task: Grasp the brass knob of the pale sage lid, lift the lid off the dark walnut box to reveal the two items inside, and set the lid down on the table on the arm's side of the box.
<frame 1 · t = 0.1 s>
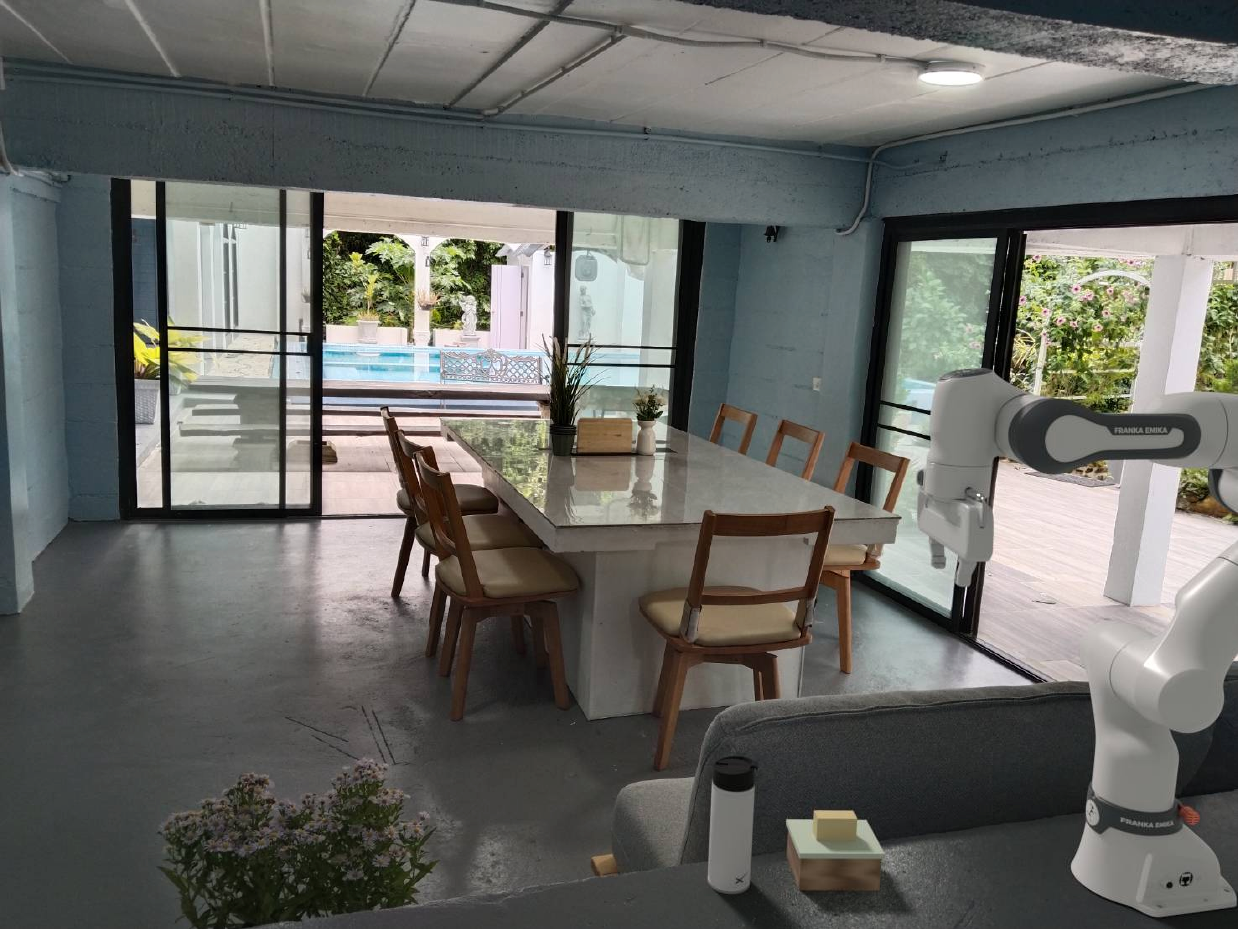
hand: (949, 576, 141), 48 cm above the table, fingers open, 8 cm apart
lid: (833, 841, 148), point 6 cm above the table, touching walnut box
cream ball: (849, 869, 150), point 1 cm above the table, touching walnut box
slate cube: (813, 876, 147), point 1 cm above the table, touching walnut box
walnut box: (831, 877, 149), on the table
travel mug: (729, 887, 146), on the table
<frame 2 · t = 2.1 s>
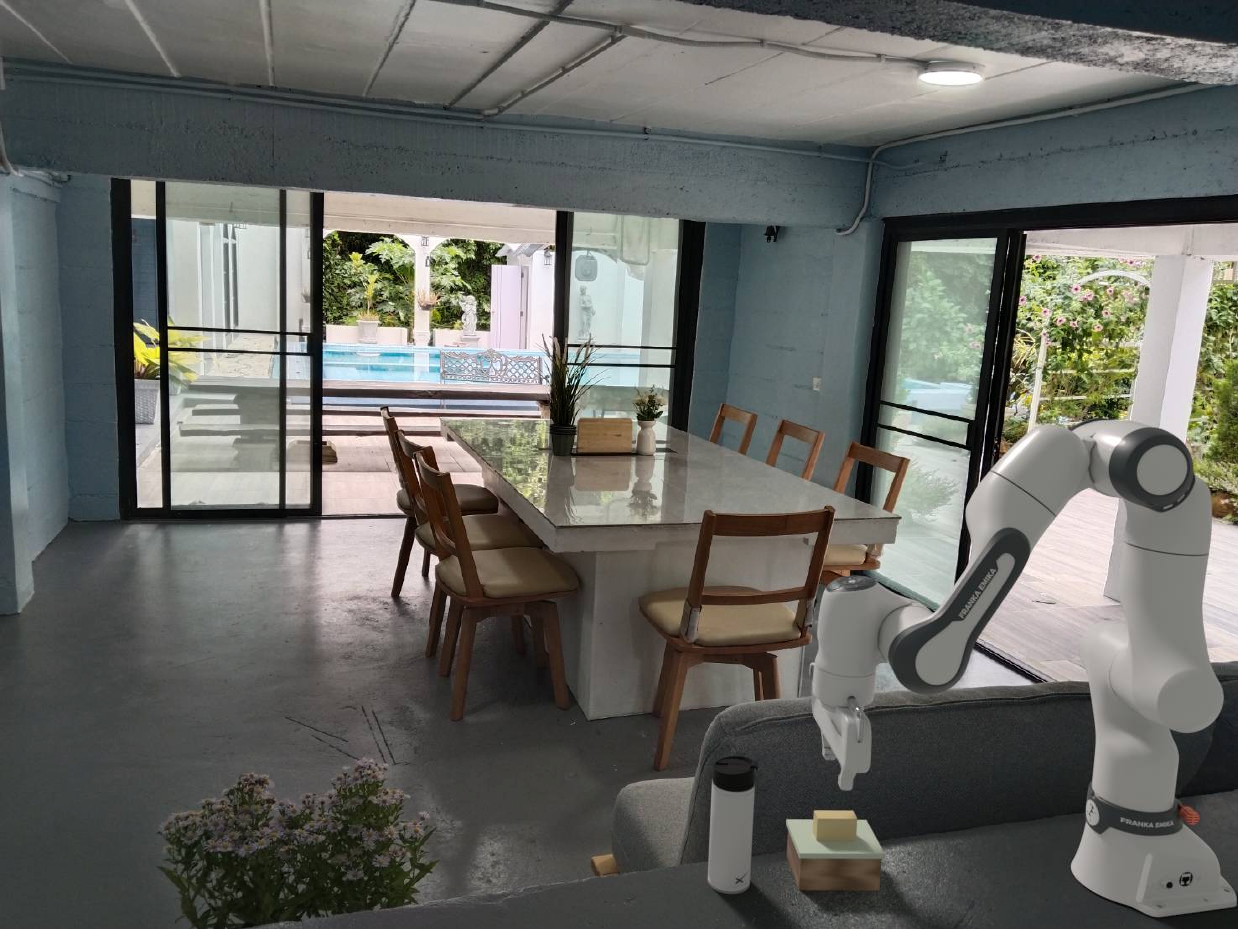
hand: (836, 772, 146), 17 cm above the table, fingers open, 8 cm apart
nothing on the table moved.
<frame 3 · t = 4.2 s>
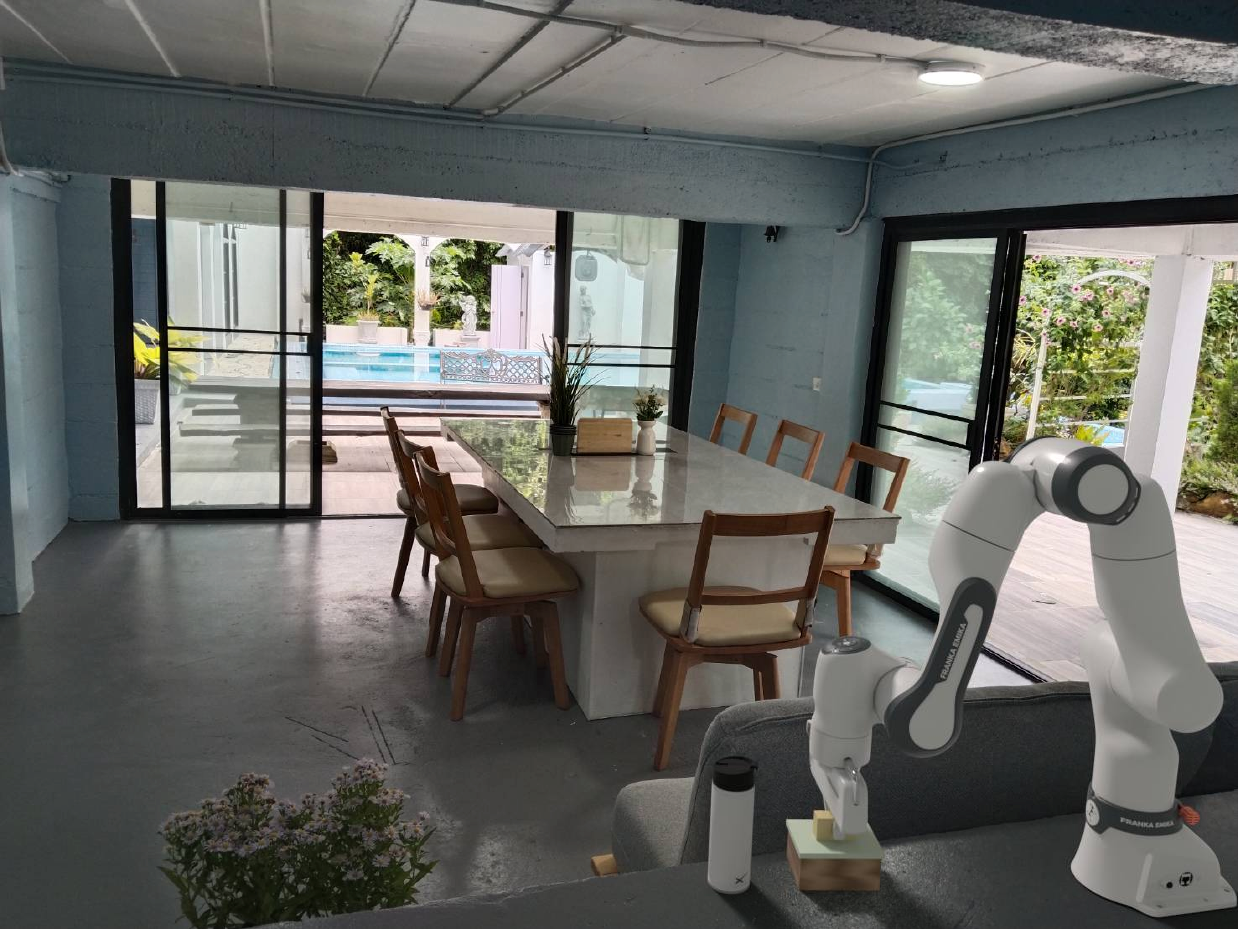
hand: (834, 830, 147), 8 cm above the table, fingers closed on lid, 2 cm apart
lid: (833, 841, 148), point 6 cm above the table, touching gripper, walnut box
everything else where it was.
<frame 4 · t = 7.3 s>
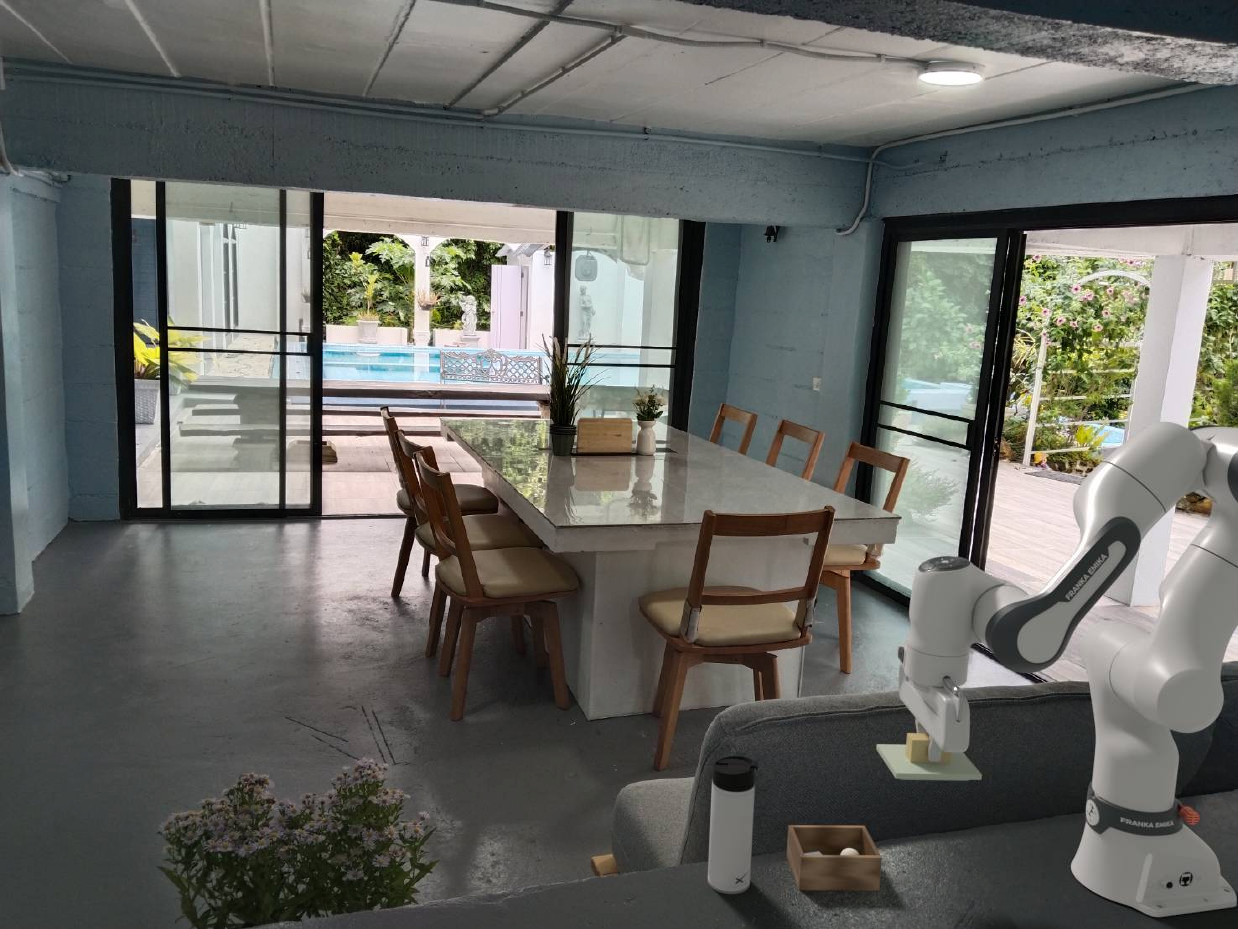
hand: (928, 753, 146), 20 cm above the table, fingers closed on lid, 2 cm apart
lid: (927, 764, 146), point 19 cm above the table, touching gripper
everything else where it was.
when the fingers open (4 cm above the table, at t = 10.6 s): lid drops 2 cm, on the table.
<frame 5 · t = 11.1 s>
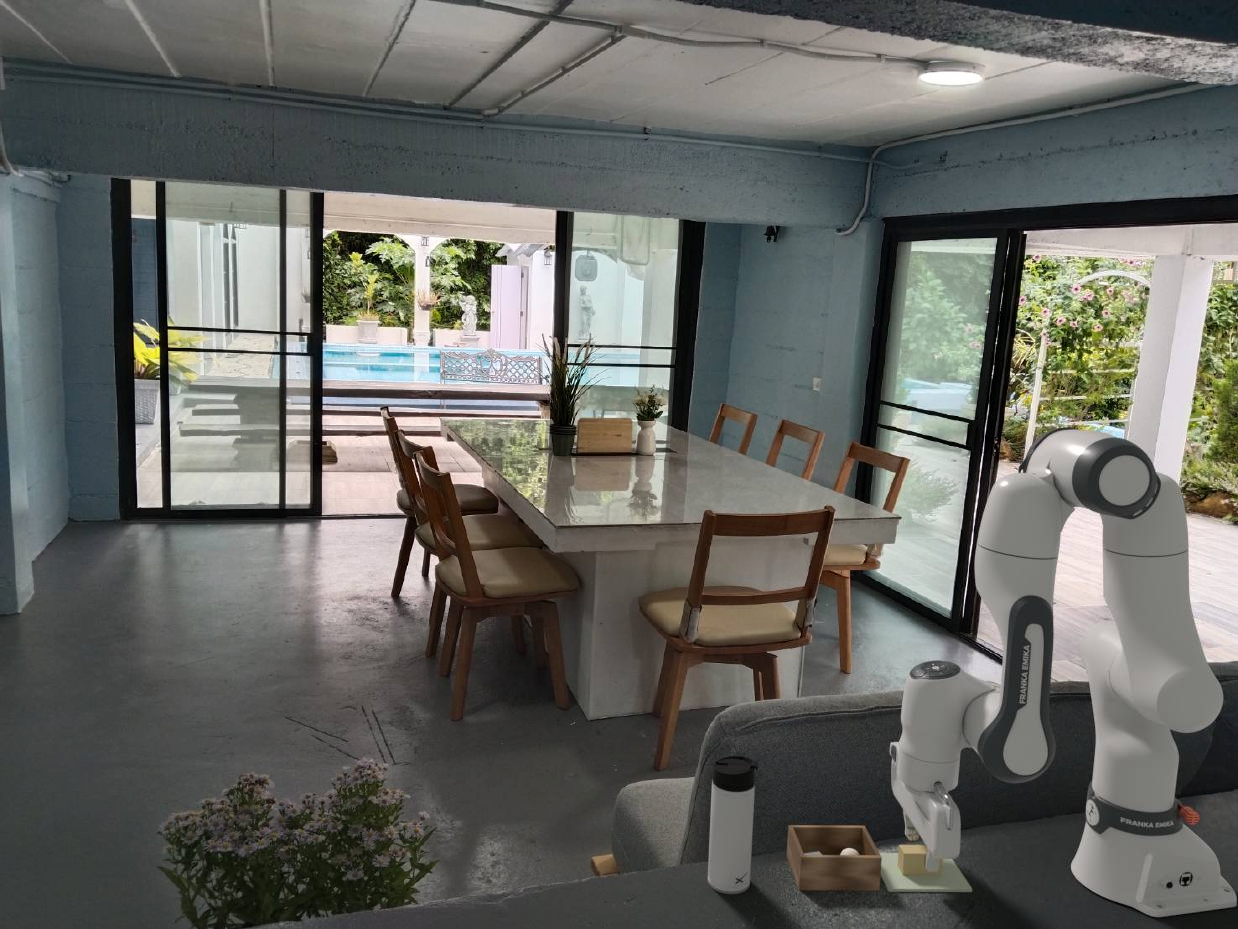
hand: (920, 853, 148), 4 cm above the table, fingers open, 7 cm apart
lid: (918, 875, 149), on the table
everything else where it was.
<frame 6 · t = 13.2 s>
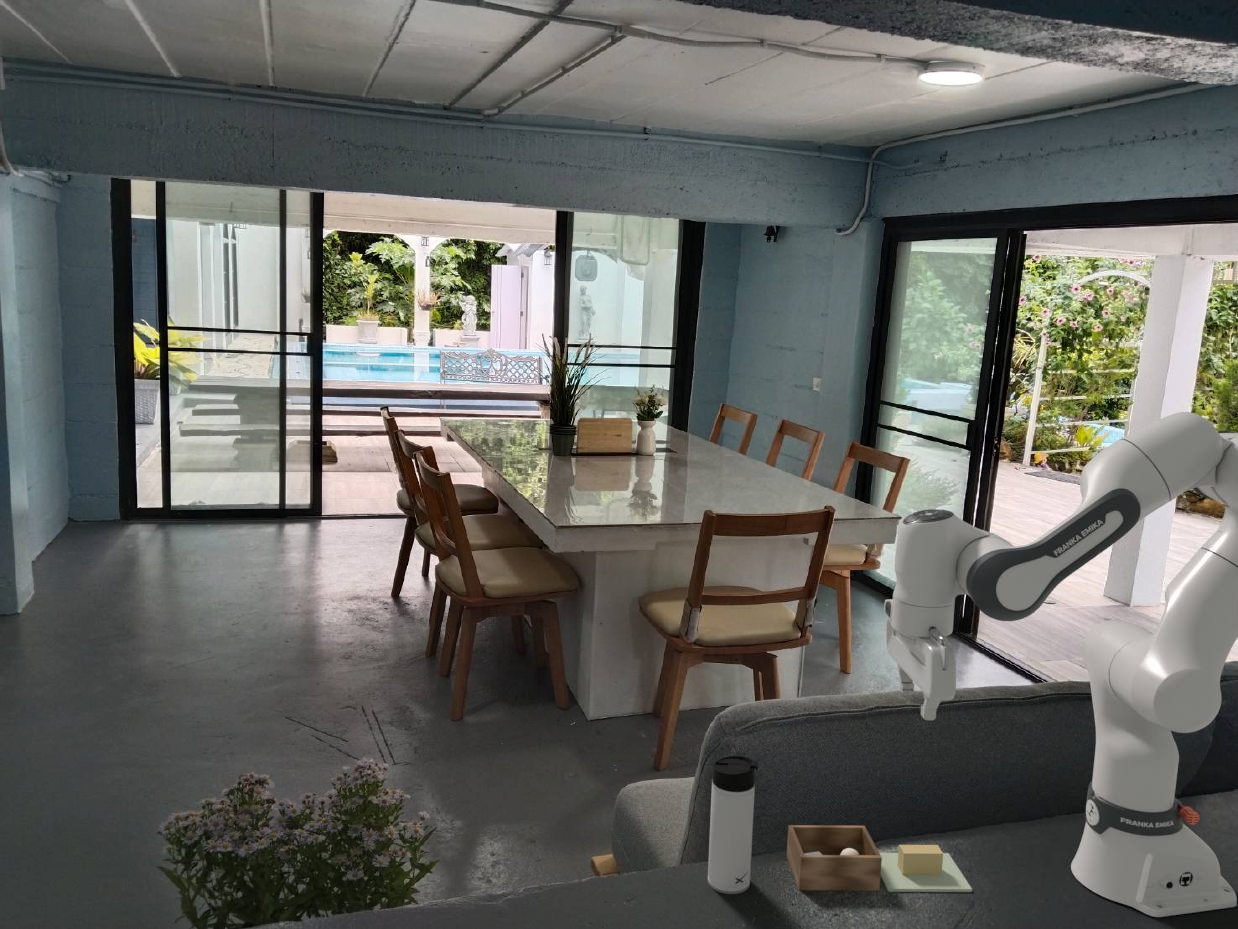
hand: (916, 705, 148), 27 cm above the table, fingers open, 8 cm apart
nothing on the table moved.
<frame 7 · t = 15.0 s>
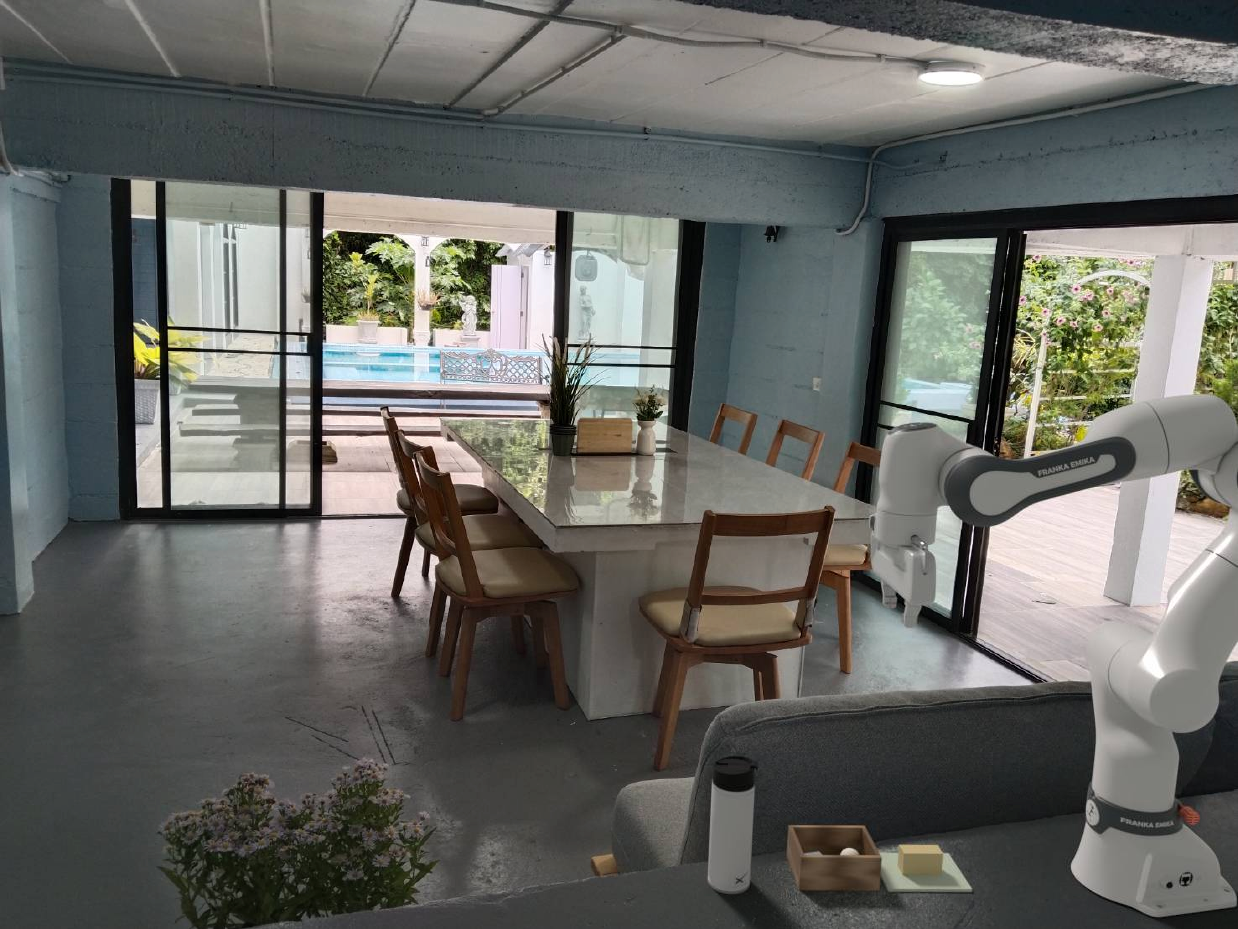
hand: (898, 616, 150), 39 cm above the table, fingers open, 8 cm apart
nothing on the table moved.
at the end: lid inside the target area (0.0 cm from its centre), on the table; lid moved 14.6 cm from its start; the gripper is holding nothing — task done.
